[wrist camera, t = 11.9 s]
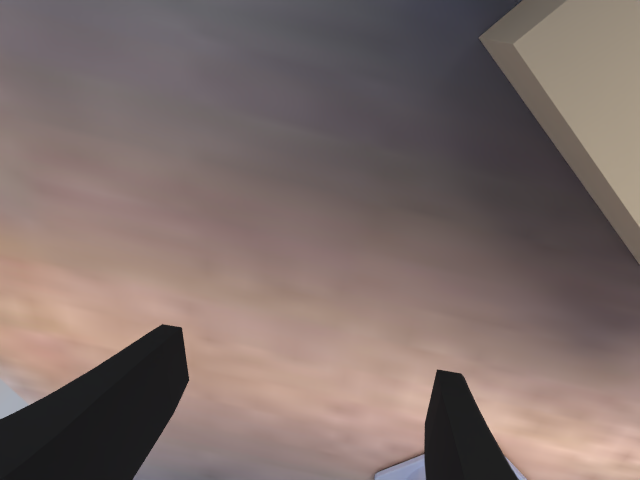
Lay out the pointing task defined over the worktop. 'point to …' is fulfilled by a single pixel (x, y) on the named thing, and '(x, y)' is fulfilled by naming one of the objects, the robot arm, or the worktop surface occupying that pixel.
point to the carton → (582, 92)
